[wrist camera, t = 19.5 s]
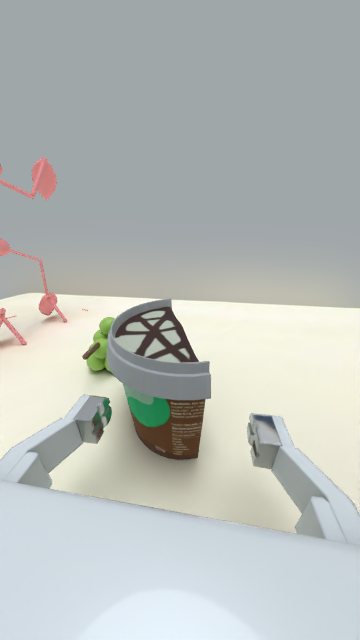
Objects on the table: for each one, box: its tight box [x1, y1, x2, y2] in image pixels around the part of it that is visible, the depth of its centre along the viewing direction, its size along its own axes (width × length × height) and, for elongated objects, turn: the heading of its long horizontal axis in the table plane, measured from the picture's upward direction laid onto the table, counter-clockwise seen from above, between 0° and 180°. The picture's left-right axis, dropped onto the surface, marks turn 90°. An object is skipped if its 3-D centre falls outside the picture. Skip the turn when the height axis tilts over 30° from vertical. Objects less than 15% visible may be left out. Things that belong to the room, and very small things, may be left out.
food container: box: [106, 299, 211, 459], centre depth 16 cm, size 12×6×10 cm, turn 13°
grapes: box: [83, 317, 115, 372], centre depth 25 cm, size 7×11×6 cm, turn 172°
